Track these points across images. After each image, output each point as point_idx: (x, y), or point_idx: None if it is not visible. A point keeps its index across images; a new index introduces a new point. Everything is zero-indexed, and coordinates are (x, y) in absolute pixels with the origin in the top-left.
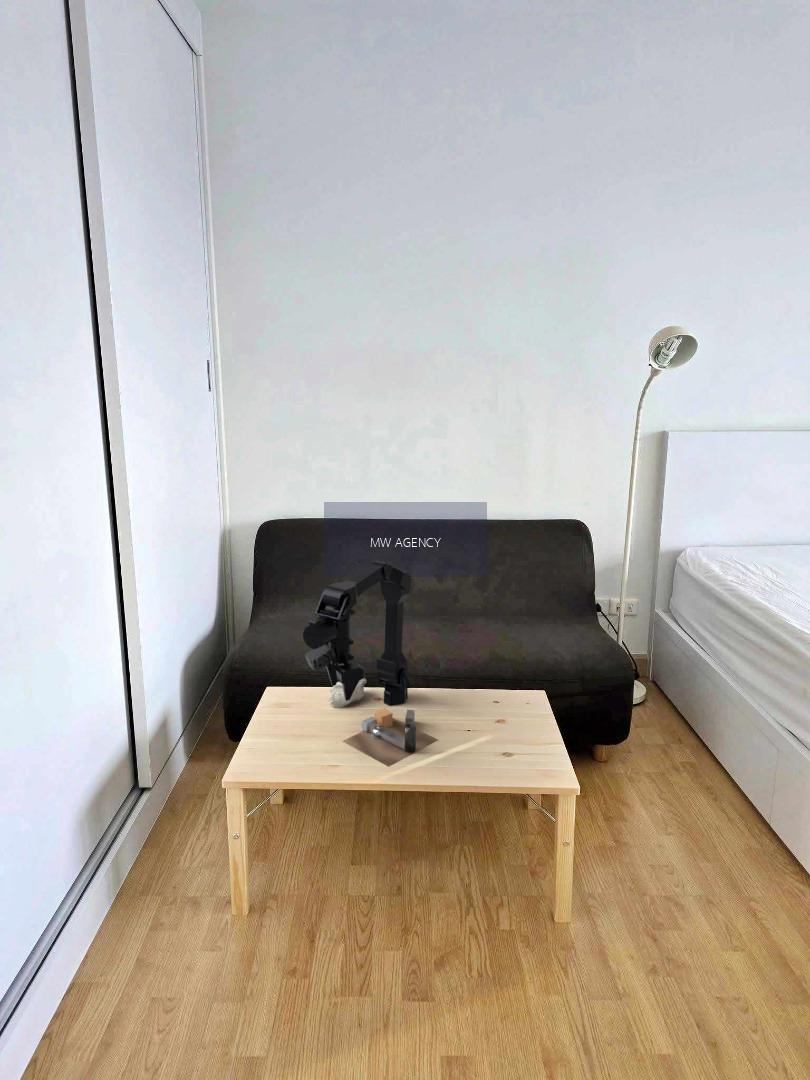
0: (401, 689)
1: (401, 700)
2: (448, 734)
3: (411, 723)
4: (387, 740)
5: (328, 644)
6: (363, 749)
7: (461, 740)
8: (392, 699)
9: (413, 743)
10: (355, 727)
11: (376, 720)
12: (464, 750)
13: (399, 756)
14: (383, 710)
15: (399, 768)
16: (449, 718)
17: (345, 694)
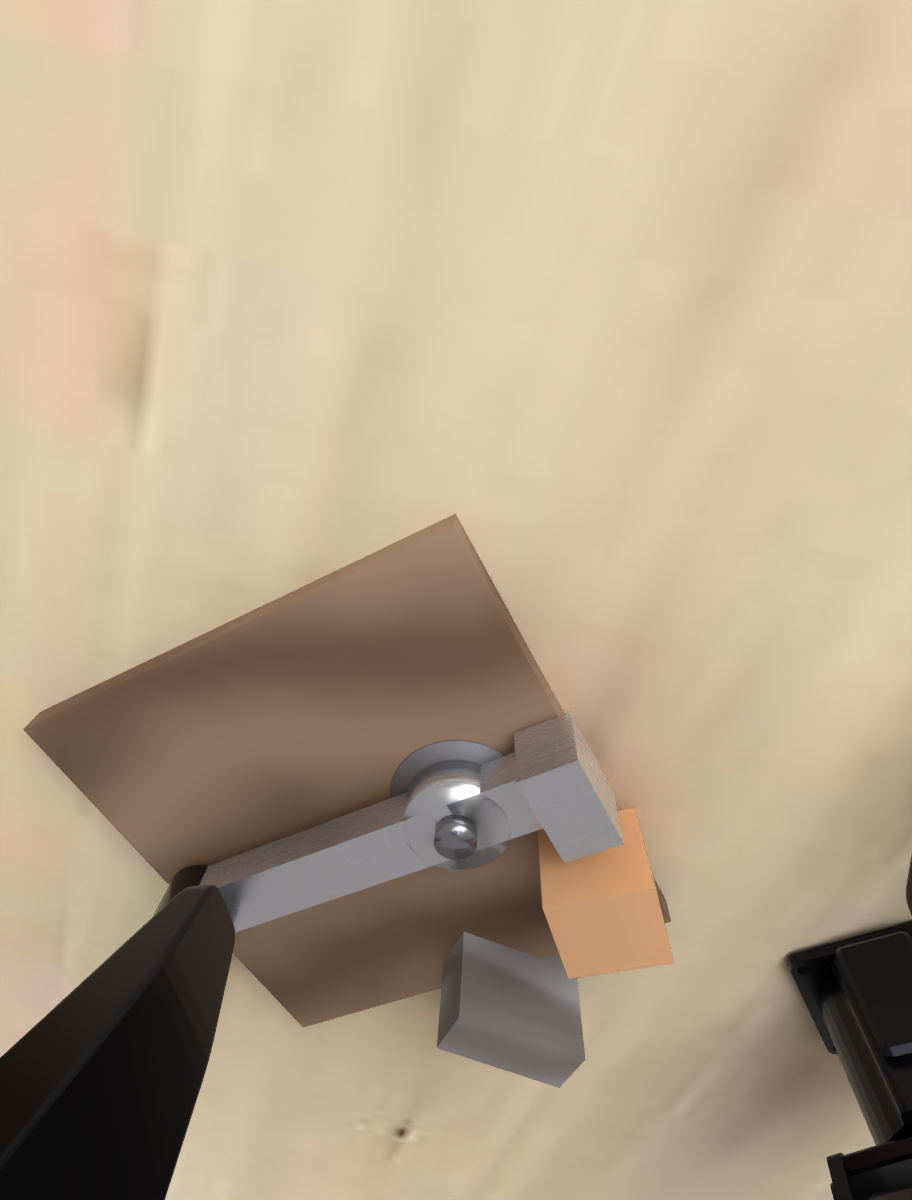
0: (874, 1133)
1: (833, 1038)
2: (388, 1062)
3: (442, 1006)
4: (343, 817)
5: None
6: (278, 644)
7: (311, 1083)
8: (856, 1013)
9: None
10: (690, 674)
11: (561, 852)
12: (212, 1063)
13: (143, 817)
14: (644, 945)
15: (60, 771)
16: (554, 1114)
17: (59, 1013)
